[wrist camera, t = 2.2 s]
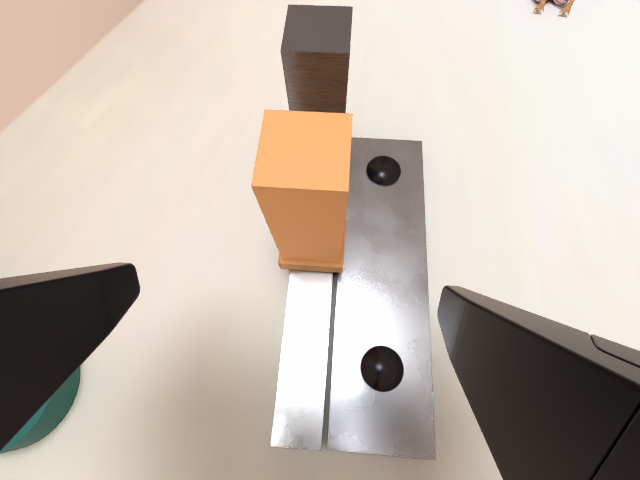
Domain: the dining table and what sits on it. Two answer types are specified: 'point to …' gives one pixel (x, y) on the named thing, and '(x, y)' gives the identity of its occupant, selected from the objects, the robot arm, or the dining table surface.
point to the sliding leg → (305, 186)
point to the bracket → (47, 415)
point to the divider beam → (306, 286)
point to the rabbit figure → (558, 1)
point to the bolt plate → (383, 309)
